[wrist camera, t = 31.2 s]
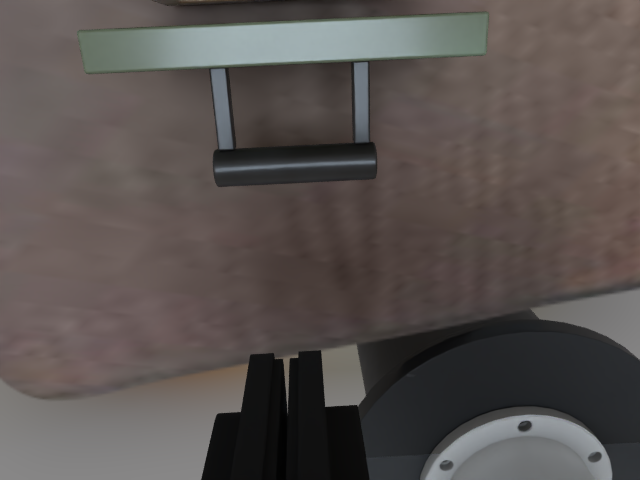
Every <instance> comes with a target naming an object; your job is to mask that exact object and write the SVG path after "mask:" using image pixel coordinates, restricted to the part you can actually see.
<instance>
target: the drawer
mask: <svg viewBox="0 0 640 480" xmlns="http://www.w3.org/2000/svg"><path fill="white" fill-rule="evenodd" d="M152 1H155V2H158V3H160V4H164V5H167V6H173V5H195V4H217V3H239V2H261V1H283V0H152ZM488 23H489V13H488V12H464V13H442V14H420V15H398V16H377V17H355V18H333V19H311V20H290V21H268V22H246V23H224V24H203V25H181V26H159V27H137V28H115V29H94V30H79V31H77V36H78V41H79V46H80V51H81V56H82V61H83V66H84V71H85V73H86V74H102V73H124V72H145V71H166V70H188V69H209V68H210V69H209V71H210V80H211V89H212V98H213V107H214V115H215V124H216V133H217V142H218V149H217V150H215V151H214V154H213V172H214V178H215V182H216V184H217V186H218V187H228V186H248V185H268V184H288V183H308V182H329V181H349V180H369V179H375V178H376V174H377V152H376V146H375V143H374V142H370V76H369V61H379V60H400V59H421V58H443V57H464V56H484V55H486V52H487V38H488ZM336 62H351V79H352V126H353V142H354V143H339V144H319V145H298V146H278V147H257V148H237V149H235V148H236V138H235V129H234V119H233V109H232V99H231V89H230V79H229V69H228V68H230V67H251V66H273V65H294V64H315V63H336Z"/></svg>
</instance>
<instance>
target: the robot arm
mask: <svg viewBox="0 0 640 480" xmlns="http://www.w3.org/2000/svg"><path fill="white" fill-rule="evenodd" d="M201 480H370V478H369V472H368V466H367V460H366V454H365V447H364V441H363V435H362V429H361V423H360V417H359V411H358V406H357V405H350V406H334V407H325V399H324V385H323V371H322V358H321V350H319V351H302V352H299V354H298V358H290V367H289V398H288V413H287V401H286V388H285V376H284V364H283V359H275V357H274V353H268V354H251V355H250V360H249V366H248V372H247V379H246V385H245V391H244V397H243V403H242V409H241V412H237V413H219V414H217V416H216V419H215V422H214V427H213V431H212V435H211V440H210V444H209V448H208V453H207V457H206V461H205V466H204V470H203V474H202V479H201ZM420 480H612V469H611V463H610V459H609V457H608V455H607V453H606V450H605V448H604V447H603V445H602V444H601V443H600V441H599V440H598V439H597V437H596V436H595V435H594V433H593V432H592V431H591V430H590V429H588V428H587V427H586V426H585V425H584V424H583V423H582V422H580V421H579V420H577V419H575V418H574V417H572V416H570V415H568V414H566V413H563V412H560V411H557V410H554V409H549V408H542V407H536V406H523V407H511V408H505V409H499V410H495V411H492V412H489V413H486V414H483V415H480V416H477V417H476V418H474V419H472V420H470V421H468V422H466V423H464V424H462V425H460V426H459V427H458V428H456V429H455V430H454V431H452V432H451V433H449V434H448V435H447V436H446V437H445V438H444V439H443V440H442V441H441V442H440V443H439V444H438V445H437V446H436V447H435V448H434V450H433V451H432V453H431V454H430V456H429V457H428V459H427V460H426V463H425V465H424V468H423V470H422V473H421V476H420Z"/></svg>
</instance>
